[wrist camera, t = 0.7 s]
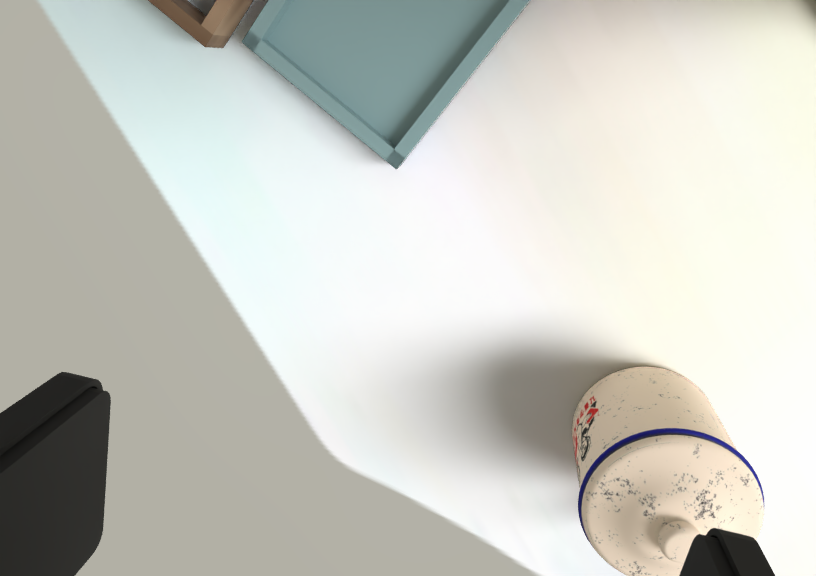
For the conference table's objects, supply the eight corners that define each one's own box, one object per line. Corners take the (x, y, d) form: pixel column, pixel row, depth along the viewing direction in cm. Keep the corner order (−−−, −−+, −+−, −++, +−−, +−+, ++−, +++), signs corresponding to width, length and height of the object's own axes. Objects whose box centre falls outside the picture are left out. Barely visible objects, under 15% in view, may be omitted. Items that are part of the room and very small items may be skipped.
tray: (400, -187, 36) (395, -198, 34) (565, -44, 37) (566, -48, 35) (251, 42, 40) (241, 42, 39) (400, 165, 41) (396, 169, 40)
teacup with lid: (556, 372, 44) (569, 477, 33) (709, 349, 42) (778, 452, 31) (587, 534, 47) (608, 679, 36) (731, 520, 45) (799, 668, 34)
